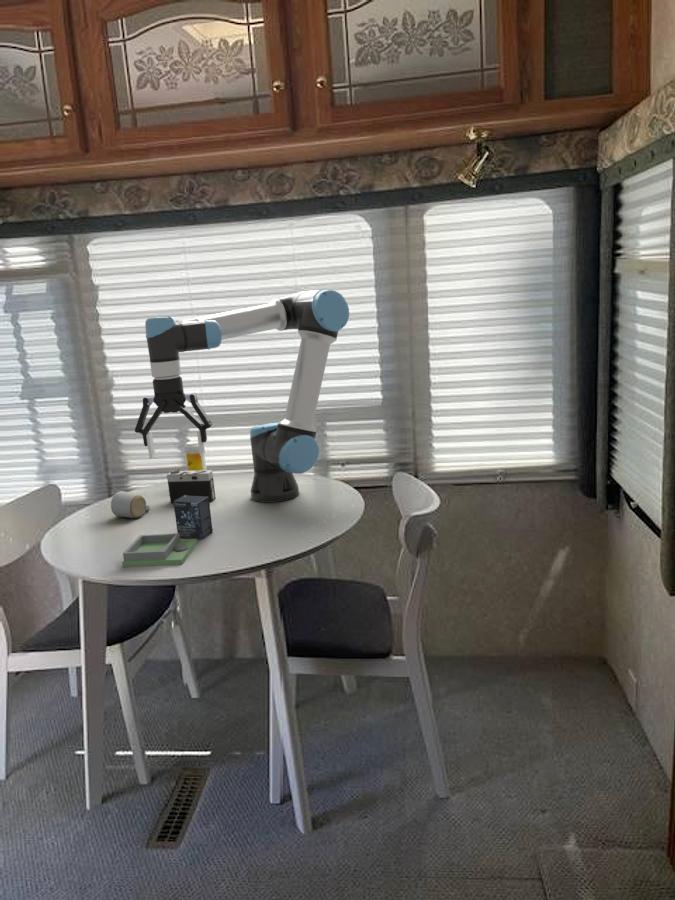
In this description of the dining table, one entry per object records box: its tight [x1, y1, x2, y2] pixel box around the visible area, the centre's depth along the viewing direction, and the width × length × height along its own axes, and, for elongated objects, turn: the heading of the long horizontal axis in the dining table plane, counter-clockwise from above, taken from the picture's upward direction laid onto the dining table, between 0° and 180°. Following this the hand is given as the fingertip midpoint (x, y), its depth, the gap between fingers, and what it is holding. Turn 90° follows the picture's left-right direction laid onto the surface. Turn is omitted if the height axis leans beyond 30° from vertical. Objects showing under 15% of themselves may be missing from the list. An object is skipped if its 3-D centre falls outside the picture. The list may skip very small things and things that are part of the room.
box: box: [173, 495, 213, 540], centre depth 188 cm, size 8×6×11 cm
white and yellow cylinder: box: [184, 440, 207, 471], centre depth 237 cm, size 6×6×15 cm
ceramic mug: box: [110, 490, 150, 519], centre depth 210 cm, size 11×8×8 cm
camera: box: [166, 469, 216, 504], centre depth 221 cm, size 14×8×10 cm, turn 80°
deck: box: [122, 532, 198, 567], centre depth 176 cm, size 15×14×3 cm
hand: (177, 456), depth 185 cm, fingers open, 13 cm apart
